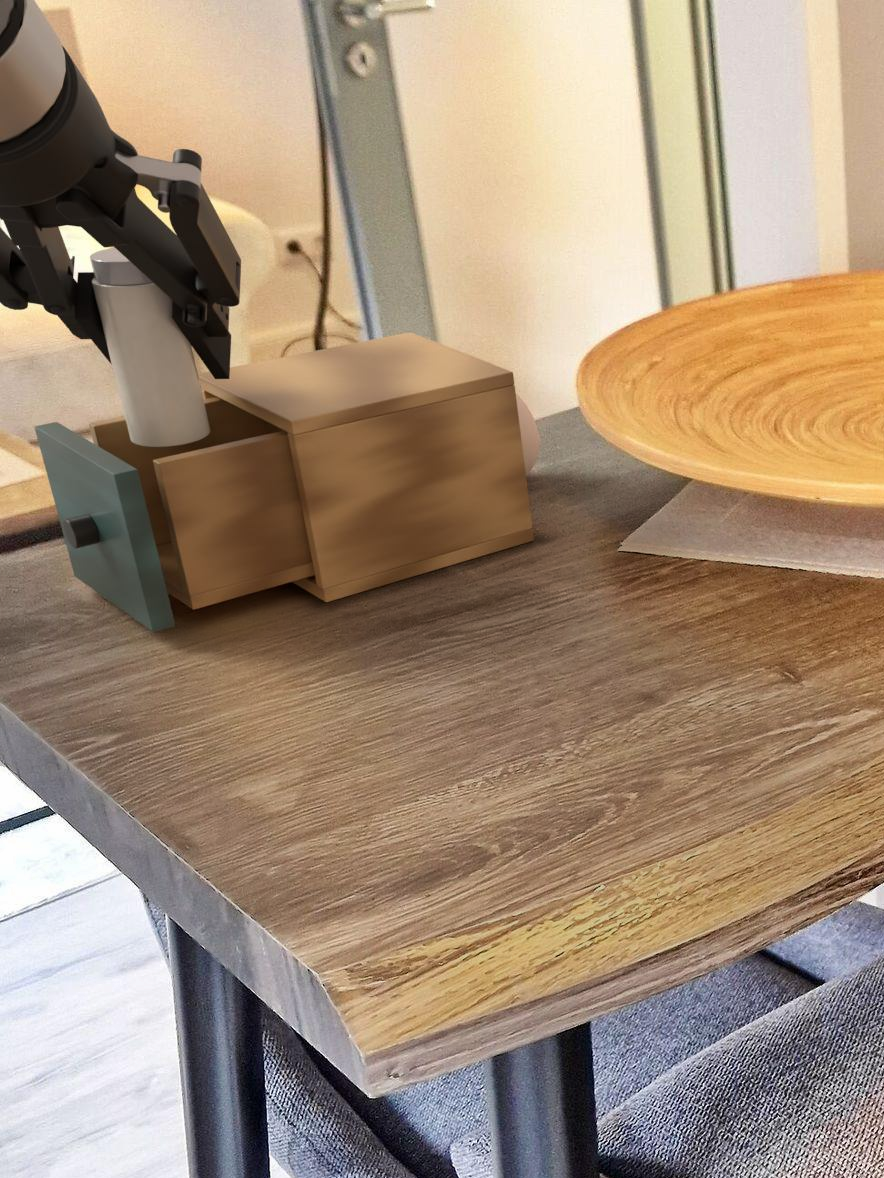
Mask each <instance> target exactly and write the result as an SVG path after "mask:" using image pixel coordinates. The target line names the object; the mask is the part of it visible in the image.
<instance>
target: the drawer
mask: <svg viewBox="0 0 884 1178" xmlns="http://www.w3.org/2000/svg"><path fill="white" fill-rule="evenodd" d="M204 402H205V407H206V412H207V416H208V421H209V425H210V434H209V435H208V436H206V437H205V438H203V439H201V440H198V441H195V442H192V443H188V444H184V445H178V446H170V447H146V446H140V445H137V444H134V443H133V442H132V441H131V440H130V437H129V433H128V429H127V425H126V421H125V417H124V415H122V416H117V417H112V418H107V419H101V420H98V421H92V422H90V423H88V427H89V431H90V434H91V439H92V441H90V440H89V439H87V438H85V437H84V436H81V435H80V434H78V433H76V432H75V431H73V430H71V429H70V428H68V427H66V426H65V425H63V424H61V423H59V422H58V421H55V422H50V423H49V422H48V423H44V424H39V425H35V426H34V427H33V428H34V431H35V434H36V438H37V442H38V446H39V449H40V453H41V456H42V461H43V464H44V468H45V472H46V475H47V480H48V483H49V486H50V491H51V494H52V498H53V501H54V505H55V509H56V513H57V516H58V519H59V523H60V527H61V531H62V536H63V539H64V542H65V546H66V549H67V552H68V553H67V554H68V557H69V560H70V564H71V568H72V571H73V575H74V577H75V578H77V579H78V580H79V581H81V582H82V583H83V584H85V585H86V586H88V587H89V588H90V589H92V590H93V591H94V592H96V593H98V594H99V595H100V596H102V597H103V598H105V600H107V601H109V602H110V603H111V604H113V605H114V606H116V607H117V608H118V609H120V610H122V612H124V613H126V614H127V615H128V616H129V617H131V618H132V619H134V620H135V621H137V623H139V624H141V625H142V626H144V627H145V628H147V630H149V631H151V632H152V633H156V632H159V631H163V630H166V629H170V628H174V627H176V623H175V622H176V621H175V618H174V614H173V609H172V606H171V605H172V604H171V601H170V597H169V595H171V596H172V597H174V598H175V599H176V600H178V601H179V602H181V603H183V604H184V605H186V606H187V607H189V608H190V609H192V610H198V609H201V608H205V607H208V606H212V605H215V604H219V603H222V602H226V601H229V600H232V599H236V598H240V597H243V596H246V595H250V594H255V593H257V592H262V591H265V590H268V589H271V588H274V587H278V586H281V585H285V584H288V583H289V584H290V583H293V582H292V581H296V580H299V579H303V578H306V577H310V576H313V575H315V572H314V567H313V562H312V557H311V551H310V546H309V541H308V536H307V531H306V526H305V521H304V515H303V510H302V505H301V500H300V495H299V490H298V485H297V479H296V474H295V469H294V464H293V459H292V454H291V449H290V444H289V438H288V432H287V431H285V430H283V429H281V428H279V427H277V426H275V425H273V424H271V423H269V422H267V421H265V420H263V419H261V418H259V417H257V416H255V415H253V414H251V413H249V412H247V411H245V410H243V409H241V408H239V407H237V406H235V405H233V404H231V403H229V402H227V401H225V400H223V399H221V398H219V397H213V398H208V399H204Z"/></svg>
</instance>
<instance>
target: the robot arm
mask: <svg viewBox="0 0 884 1178" xmlns="http://www.w3.org/2000/svg"><path fill="white" fill-rule="evenodd" d="M202 163H203V159H202V156H201V155H200V154H199V153H198V152H196V151H195V150H192V149H188V148H179V149H176V150H175V151H174V152H173V153H172V161H168V160H162V159H158V158H153V157H148V156H143V155H139V154H138V151H137V149H136V148H135V146H133V144H132V143H131V142H129V141H128V140H126V138H124V137H122V136H120V135H119V134H117V133H116V132H115V131H114V130H113V129H111V126H110V124H109V122H108V120H107V117H106V115H105V113H104V111H103V109H102V106H101V104H100V102H99V100H98V98H97V96H96V95H95V93H94V92H93V90H92V88H91V87H90V85H89V84H88V82H87V81H86V79H85V78H84V76H83V74H82V73H81V71H80V69H79V68H78V67H77V65H76V63H75V62H74V60H73V59H72V57H71V56H70V54H69V52H68V51H67V49H66V48H65V47H64V46H63V45H62V42H61V38H60V37H59V36H58V34H57V33H56V31H55V29H54V28H53V27H52V25H51V24H50V21H49V20H48V19H47V17H46V16H45V14H44V13H43V11H42V10H41V7H40V6H39V5H38V3H37V2H36V0H0V220H1V221H3V224H4V225H5V228H6V231H7V233H6V232H5V231H4V230H3V229H2V227H1V226H0V304H1V305H2V306H4V307H5V308H8V309H9V310H13V311H21V310H26V309H28V306H29V304H35V305H40V306H42V307H43V309H44V311H45V312H47V313H49V314H51V315H53V316H57V317H58V319H59V320H60V321H61V322H62V323H63V325H65V327H66V328H67V329H68V330H69V332H70V333H71V334H72V335H73V336H75V337H76V338H78V339H80V340H91V342H92V343H93V344H94V345H95V346H96V347H97V349H98V350H99V351H100V353H102V355H103V356H104V358H105V359H106V360H107V361H108V362H109V364H110V365H111V366H112V364H111V359H110V355H109V351H108V347H107V343H106V339H105V335H104V331H103V327H102V323H101V319H100V315H99V310H98V306H97V302H96V298H95V294H94V290H93V286H92V279H93V278H95V276H94V272H93V271H85V272H81V271H79V272H77V280H76V279H75V278H74V276H75V275H74V274H75V261H76V260H75V259H76V256H75V255H72V256H71V257H70V255H69V252H68V250H67V246H66V243H65V241H64V238H63V235H62V232H61V230H60V227H64V226H65V227H66V226H69V227H70V226H71V227H76V228H77V227H78V228H81V229H83V231H85V232H86V233H87V234H88V235H89V236H91V238H93V240H95V241H96V242H97V243H98V244H99V245H100V246H101V247H103V248H116V249H117V250H118V251H119V252H120V253H121V254H122V255H124V256H125V257H126V258H127V259H128V260H129V261H130V262H131V263H132V264H133V265H135V266H136V267H137V268H138V269H139V270H140V271H141V272H142V273H143V274H144V275H146V276H147V277H148V278H149V279H150V280H151V281H152V282H153V283H154V284H156V285H157V286H158V287H159V288H160V289H161V290H162V291H163V292H164V293H165V294H167V295H168V296H169V297H170V298H171V299H172V300H173V310H172V319H173V320H174V321H175V323H176V324H177V326H178V327H179V328H180V330H181V331H182V333H183V334H184V336H185V337H186V338H187V340H188V341H189V342H190V344H191V346H192V348H193V351H194V352H195V353H196V354H197V356H198V357H199V358H200V360H201V362H202V363H203V364H204V366H205V367H206V368H207V370H208V372H210V373H211V374H212V375H213V377H214V378H215V379H229V377H230V367H231V353H232V334H231V332H230V331H229V330H230V329H229V325H230V308H231V307H236V306H239V304H240V298H241V280H242V279H241V277H242V258H241V257H240V255H239V252H238V251H237V249H236V246H235V245H234V243H233V241H232V240H231V238H230V235H229V234H228V231H227V229H226V227H225V225H224V224H223V223H222V220H221V218H220V216H219V214H218V213H217V210H216V209H215V206H214V205H213V203H212V201H211V199H210V197H209V195H208V193H207V191H206V189H205V188H204V186H203V183H202V168H203V167H202V166H203V165H202ZM137 185H138V186H141V187H143V188H146V189H147V190H148V191H149V192H150V195H151V197H153V199H155V200H156V201H157V209H158V211H159V212H162V213H164V214H169V216H168V217H169V218H168V219H169V223H170V225H171V227H172V229H173V230H172V229H171V228H170V227H169V226H168V225H167V224H166V223H165V222H164V221H163V220H162V219H161V218H160V217H159V216H157V214H156V213H155V212H154V211H152V209H150V208H149V207H148V206H147V205H146V204H145V203H144V201H142V200H141V199H140V197H139V196H138V194H137V190H136V186H137Z"/></svg>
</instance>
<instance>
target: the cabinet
mask: <svg viewBox="0 0 884 1178" xmlns="http://www.w3.org/2000/svg"><path fill="white" fill-rule="evenodd" d="M198 375H199V380H200V384H201V389H202V393H203V398H204V399H208V398H213V397H219V398H221V399H223V400H225V401H227V402H229V403H231V404H233V405H235V406H237V407H239V408H241V409H243V410H245V411H247V412H249V413H251V414H253V415H255V416H257V417H259V418H261V419H263V420H265V421H267V422H269V423H271V424H273V425H275V426H277V427H279V428H281V429H283V430H285V431H287V432H288V438H289V444H290V449H291V454H292V459H293V464H294V469H295V474H296V479H297V485H298V490H299V495H300V500H301V505H302V510H303V515H304V521H305V526H306V531H307V536H308V541H309V546H310V551H311V557H312V562H313V567H314V572H315V575H313V576H310V577H306V578H303V579H299V580H296V581H292V582H291V583H293V584H295V585H297V586H298V587H300V588H301V589H303V590H305V591H306V592H308V593H310V594H312V595H313V596H315V597H316V598H318V599H319V600H321V601H323V602H324V603H329V602H332V601H336V600H339V599H342V598H345V597H349V596H353V595H356V594H359V593H362V592H365V591H370V590H373V589H376V588H380V587H382V586H386V585H390V584H393V583H396V582H399V581H402V580H403V581H404V580H406V579H410V578H412V577H416V576H420V575H423V574H427V573H430V572H433V571H436V570H440V569H443V568H447V567H450V566H454V565H457V564H459V563H464V562H467V561H470V560H473V559H477V558H480V557H483V556H487V555H490V554H493V553H497V552H500V551H504V550H507V549H510V548H513V547H517V546H520V545H524V544H527V543H530V542H534V541H535V536H534V530H533V522H532V513H531V505H530V497H529V490H528V488H529V487H528V482H527V480H528V479H527V476H526V472H525V464H524V456H523V448H522V440H521V432H520V424H519V416H518V408H517V400H516V394H517V393H516V386H515V378H514V372H513V371H511V370H509V369H506V368H504V367H501V366H499V365H495V364H493V363H491V362H489V361H485V360H483V359H480V358H477V357H476V356H473V355H470V354H468V353H465V352H463V351H460V350H457V349H456V348H453V347H450V346H447V345H445V344H442V343H440V342H438V341H435V340H432V339H430V338H427V337H425V336H422V335H419V334H417V333H415V332H411V331H409V332H404V333H399V334H394V335H393V334H392V335H389V336H385V337H383V336H382V337H378V338H373V339H367V340H364V341H363V340H362V341H358V342H354V343H353V342H352V343H348V344H343V345H337V346H333V347H327V348H323V349H317V350H312V351H308V352H302V353H297V354H293V355H287V356H283V357H276V358H271V359H267V360H262V361H257V362H252V363H247V364H241V365H235V366H230V377H229V379H215V378H214V377H213V375H212V374H211V373H210V371H206V372H201V373H198Z"/></svg>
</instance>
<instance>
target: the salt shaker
mask: <svg viewBox="0 0 884 1178" xmlns="http://www.w3.org/2000/svg"><path fill="white" fill-rule="evenodd" d="M89 259H90V264H91V268H92V272H94V276H95V278H93V279H92V286H93V290H94V294H95V298H96V302H97V306H98V310H99V315H100V319H101V323H102V327H103V331H104V335H105V339H106V343H107V347H108V351H109V355H110V359H111V363H110V365H111V364H112V365H111V367H112V371H113V375H114V380H115V383H116V388H117V392H118V396H119V400H120V404H121V408H122V411H123V416H124V417H125V421H126V425H127V429H128V433H129V437H130V440H131V441H132V442H133V443H134V444H137V445H140V446H146V447H170V446H178V445H184V444H188V443H192V442H195V441H198V440H201V439H203V438H205V437H206V436H208V435H209V434H210V425H209V421H208V416H207V412H206V407H205V402H204V398H203V393H202V389H201V384H200V380H199V375H198V374H199V371H198V366H197V362H196V357H195V353H194V352H195V351H194V348H193V347H192V346H191V344H190V342H189V341H188V340H187V338H186V337H185V336H184V334H183V333H182V331H181V330H180V328H179V327H178V326H177V324H176V323H175V321H174V320H173V319H172V310H173V300H172V299H171V298H170V297H169V296H168V295H167V294H165V293H164V292H163V291H162V290H161V289H160V288H159V287H158V286H157V285H156V284H154V283H153V282H152V281H151V280H150V279H149V278H148V277H147V276H146V275H144V274H143V273H142V272H141V271H140V270H139V269H138V268H137V267H136V266H135V265H133V264H132V263H131V262H130V261H129V260H128V259H127V258H126V257H125V256H124V255H122V254H121V253H120V252H119V251H118V250H117V249H116V248H115V247H109V248H105V249H102V250H98V251H96V252H93V253H92V254H90V256H89Z"/></svg>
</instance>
